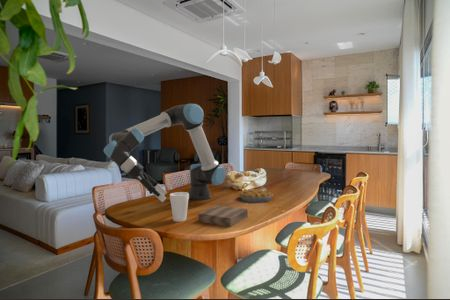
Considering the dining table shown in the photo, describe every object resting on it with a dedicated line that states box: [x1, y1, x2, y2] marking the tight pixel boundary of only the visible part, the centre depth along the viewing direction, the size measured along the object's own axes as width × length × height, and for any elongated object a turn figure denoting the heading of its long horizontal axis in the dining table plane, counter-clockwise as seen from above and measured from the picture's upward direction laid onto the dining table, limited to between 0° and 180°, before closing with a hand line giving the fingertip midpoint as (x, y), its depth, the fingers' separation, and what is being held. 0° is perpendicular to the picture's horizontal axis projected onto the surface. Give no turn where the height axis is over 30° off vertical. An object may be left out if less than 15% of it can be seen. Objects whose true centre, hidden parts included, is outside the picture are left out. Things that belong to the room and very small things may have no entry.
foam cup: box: [169, 191, 190, 223], centre depth 145 cm, size 10×9×13 cm
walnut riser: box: [197, 205, 249, 228], centre depth 145 cm, size 18×18×4 cm
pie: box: [239, 189, 273, 203], centre depth 189 cm, size 22×22×5 cm
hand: (165, 197), depth 143 cm, fingers open, 13 cm apart
